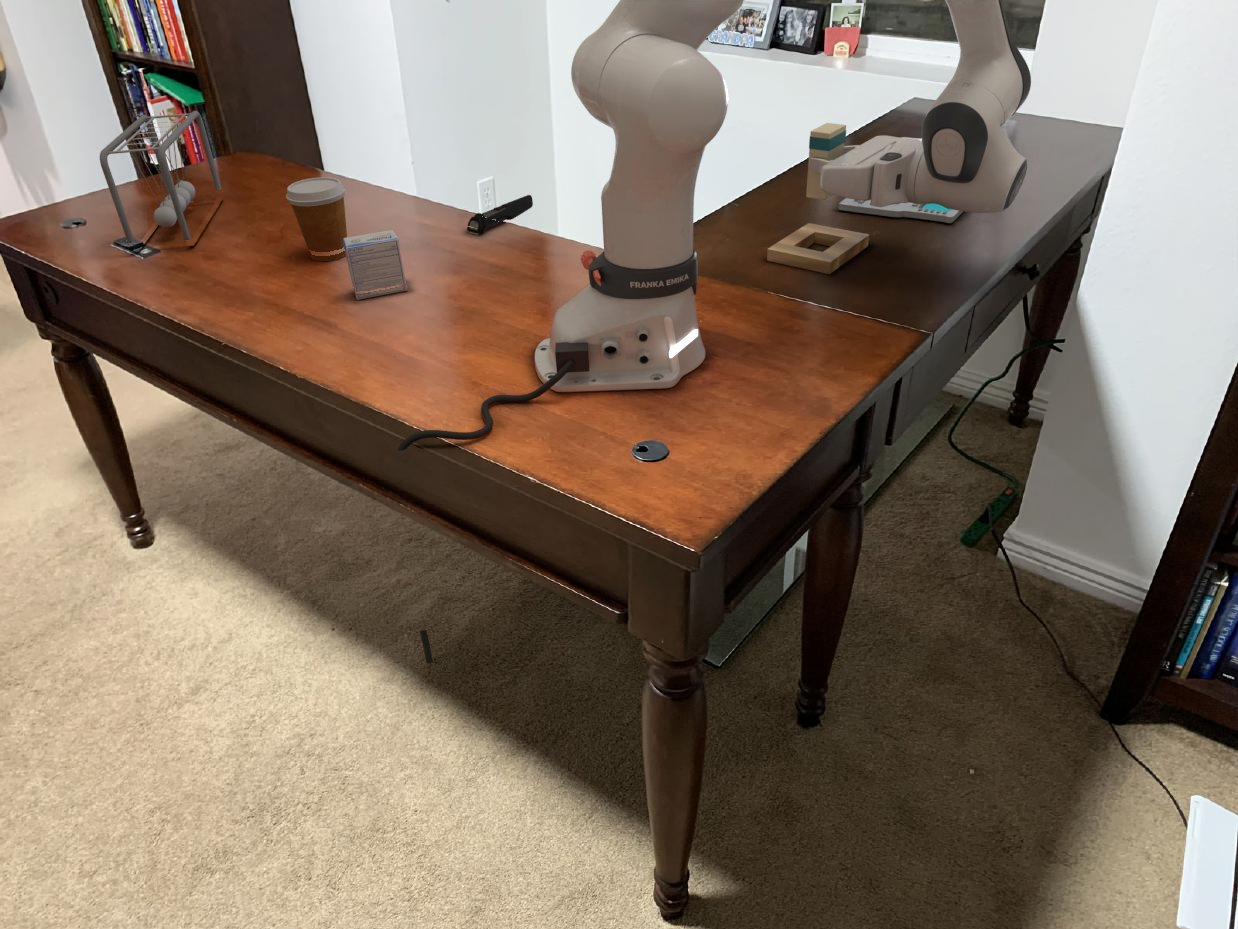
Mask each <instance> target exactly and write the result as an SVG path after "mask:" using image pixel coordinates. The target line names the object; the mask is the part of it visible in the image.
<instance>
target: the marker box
mask: <svg viewBox="0 0 1238 929" xmlns="http://www.w3.org/2000/svg"><path fill="white" fill-rule="evenodd" d="M809 133H810V135H809V142H808V161H809V160H810V159H811V158H813V157H815V156H816V157H823V158H824V160H828V161H830V160H835V159H837V158H838V157H840V156H842V155H844V146H846V139H847V138H846V137H847V124H841V123H832V122H826V123H824V124H822V125H819V126H818V127H816V128H814V129H811V130H810V132H809ZM807 164H809V162H808V163H807ZM820 178H821V173H819V172H816V171H810V170H809V169H808V168H807V179H806V192H805V194H806V196H805V197H806V198H808V199H809V198H810V199H816V200H821V201H826V200H827V199H829V198H830V197H833V195H832V194H828V193H826V192H824V191H823V190H822V189H821V188H820Z"/></svg>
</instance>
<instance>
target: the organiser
mask: <svg viewBox="0 0 1238 929" xmlns="http://www.w3.org/2000/svg"><path fill="white" fill-rule="evenodd" d="M869 240H870V234H868V233H863V232H858V231H853V230H847V229H842V228H836V227H831V226H825V225H820V224H815V223H810V222H808V223H806V224H805V225H803V226H801V227H800V228H798V229H797V230H795V231H794V232H792V233H790V234H789V235H787V236H785V237H784V238H782V239H780V240H779V241H777V242H776V243H774V244H772V245H771V246H770V247H768V248H767V250H766V261H767V262H771V263H776V264H780V265H785V266H789V267H794V268H799V269H804V270H809V271H813V272H817V273H821V274H826V275H831V274H832V273H833V272H835V271H836V270H837V269H839V268H840V267H841V266H843V265H844V264H845V263H847V262H849V261H850V260H851V259H853V258H854V257H855V256H857V255H858V254H859V253H861V252H862V251H863V250H865V249H866V248H867V247H869ZM814 244H816V245H821V246H827V247H828V248H826V249H825V250H824V251H819V250H815V249H810V248H809V247H811V246H812V245H814Z"/></svg>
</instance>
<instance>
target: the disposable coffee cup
mask: <svg viewBox="0 0 1238 929" xmlns="http://www.w3.org/2000/svg"><path fill="white" fill-rule="evenodd" d="M286 190H287V192H286V195H285V198H286V200H287V201H288V202H289V204H290V205H291V208H292V210H293V213H294V216H295V219H296V221H297V225H298V226H299V229H300V232H301V234H302V237H303V239H304V242H305V244H306V248H307V250H308V249H309V250H311V251H315V252H330V251H334V250H339V249H342V248H343V247H344V244H343V238H347V237H348V230H347V219H346V205H345V192H346V188H345V187H344V186H343V184H342V181H341V180H340V179H338V178H336V177H329V176H328V177H327V176H325V177H311V178H305V179H301V180H298V181H295V182H293V183H291V184H290V185H288V186H287V188H286ZM309 250H308V251H309ZM309 255H310V259H311V260H314V261H317V262H331V261H336V260H340V259H342V258H344V257H346V253H345V251H343V252H341V253H339V254H335V255H330V256H315V255H312V254H310V253H309Z"/></svg>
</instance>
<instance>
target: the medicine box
mask: <svg viewBox="0 0 1238 929" xmlns="http://www.w3.org/2000/svg"><path fill="white" fill-rule="evenodd" d="M343 244H344V249H345V253H346V256H345V259H346V263H347V268H348V271H349V276H350V280H351V284H353V285H352V288H353V287H354V288H353V292H354V295H355V297H356V300H357V301H359V300H363V299H364V300H365V299H369V298H373V297H380V296H384V295H390V294H395V293H401V292H406V291H408V285H407V280H406V275H405V270H404V265H403V264H404V262H403V258H402V254H401V247H400V241H399V238H398V237H397V235H396V233H395V231H394V230H392V229H390V230H383V231H377V232H371V233H365V234H359V235H353V236H347V238H343ZM401 284H406V286H401V287H395V288H390V289H385V290H379V291H374V292H368V293H363V294H357V295H356V293H355V292H360V291H370V290H374V289H378V288H387V287H391V286H396V285H401ZM354 290H355V291H354Z"/></svg>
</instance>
